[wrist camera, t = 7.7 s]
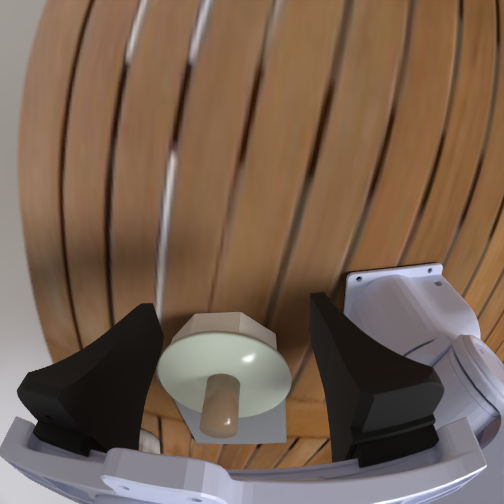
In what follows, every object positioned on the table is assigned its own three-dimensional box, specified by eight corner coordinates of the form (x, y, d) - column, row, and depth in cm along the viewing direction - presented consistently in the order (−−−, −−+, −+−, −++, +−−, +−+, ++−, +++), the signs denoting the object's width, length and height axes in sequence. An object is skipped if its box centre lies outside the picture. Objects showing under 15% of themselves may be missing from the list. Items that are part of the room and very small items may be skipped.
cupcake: (140, 449, 40) (128, 495, 30) (102, 422, 36) (84, 471, 27) (181, 447, 38) (171, 500, 29) (142, 418, 34) (125, 476, 25)
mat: (284, 389, 30) (284, 391, 29) (286, 439, 35) (286, 441, 35) (171, 390, 30) (170, 393, 30) (197, 440, 36) (197, 442, 36)
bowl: (273, 309, 25) (275, 332, 22) (278, 380, 29) (280, 402, 26) (164, 314, 25) (155, 336, 23) (189, 383, 30) (184, 404, 27)
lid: (308, 342, 22) (318, 397, 17) (273, 418, 28) (274, 462, 23) (158, 317, 22) (136, 369, 17) (161, 401, 27) (149, 444, 22)
